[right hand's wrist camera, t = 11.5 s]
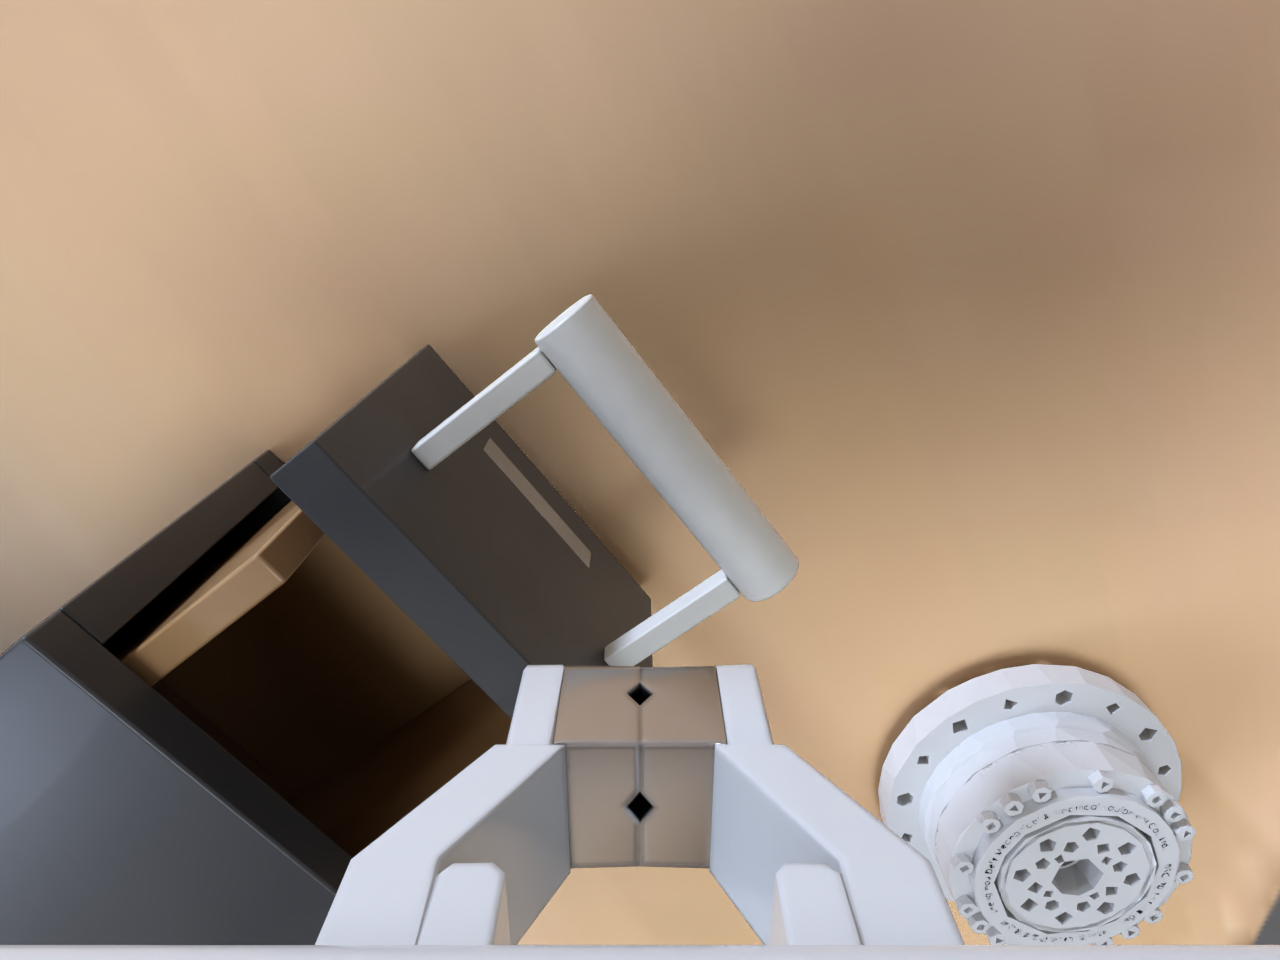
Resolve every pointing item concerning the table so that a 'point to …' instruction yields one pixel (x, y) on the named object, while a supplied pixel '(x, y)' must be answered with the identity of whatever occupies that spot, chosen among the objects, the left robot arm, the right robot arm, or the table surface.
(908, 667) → the table surface
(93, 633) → the cabinet
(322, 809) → the drawer
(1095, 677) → the mechanical component
